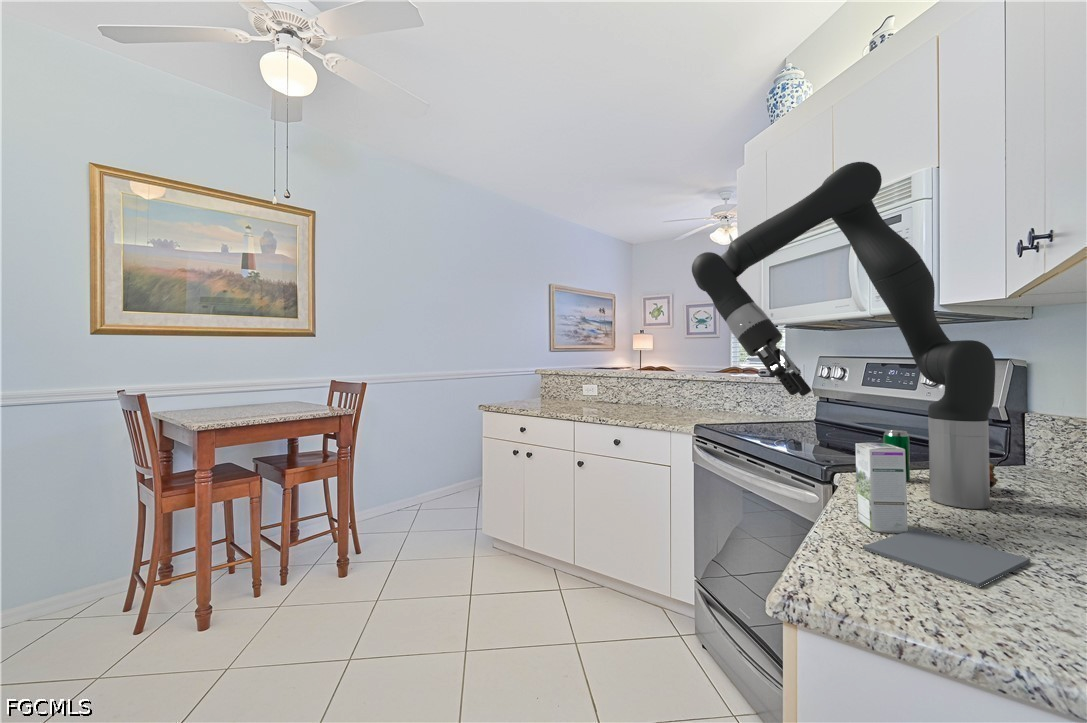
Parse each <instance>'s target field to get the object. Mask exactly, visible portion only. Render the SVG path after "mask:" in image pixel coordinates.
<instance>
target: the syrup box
mask: <svg viewBox="0 0 1087 723" xmlns="http://www.w3.org/2000/svg"><path fill="white" fill-rule="evenodd" d="M854 447H855V474H856V475H855V476H856V477H855V479H856V482H855V483H856V507H857V508H856V510H857V522H859V523H860V524H862V525H863V526H864V527H866V528H868V529H869V530H871V531H872V532H875V533H876V532H878V533H893V534H901V533H904V532H907V531H909V530H908V529H909V526H908V525H909V524H908V523H909V521H908V493H907V491H908V490H907V482H906V462H905V449H903V448H899V447H896V446H893V445H890V444H886V443H884V442H858V443H857V442H856V443H855V446H854Z"/></svg>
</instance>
